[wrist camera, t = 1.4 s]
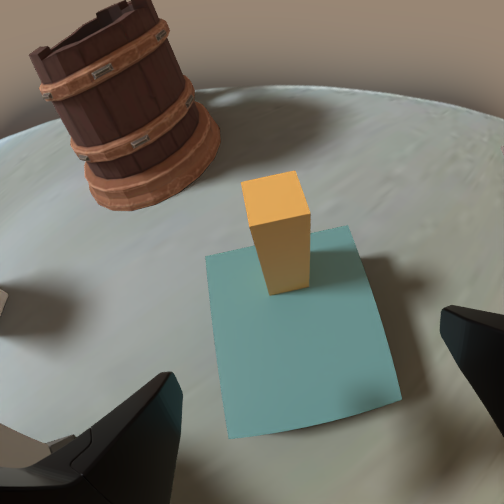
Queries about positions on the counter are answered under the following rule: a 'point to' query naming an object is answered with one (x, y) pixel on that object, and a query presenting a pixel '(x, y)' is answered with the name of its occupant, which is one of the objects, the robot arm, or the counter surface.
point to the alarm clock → (25, 448)
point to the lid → (295, 320)
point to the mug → (128, 107)
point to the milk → (2, 300)
